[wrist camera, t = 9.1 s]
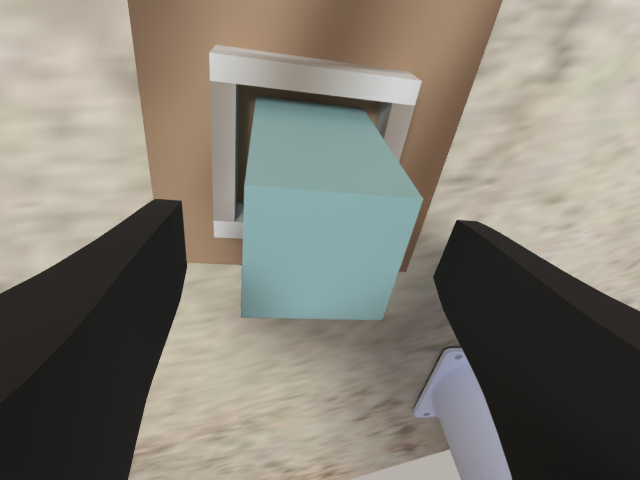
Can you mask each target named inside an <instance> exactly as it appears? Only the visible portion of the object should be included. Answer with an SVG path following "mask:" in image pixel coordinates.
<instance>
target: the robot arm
mask: <svg viewBox="0 0 640 480" xmlns="http://www.w3.org/2000/svg"><path fill="white" fill-rule="evenodd" d="M186 269H187V259H186V246H185V234H184V221H183V209H182V201H180V200H166V199H154V200H153V201H151V202H149V203H148V204H146V205H145V206H144V207H142V208H141V209H139V210H138V211H136V212H135V213H134V214H132V215H131V216H129V217H128V218H127V219H125V220H124V221H122V222H121V223H119V224H118V225H117V226H115V227H114V228H112V229H111V230H109V231H108V232H106V233H105V234H103V235H102V236H101V237H99V238H98V239H96V240H95V241H93V242H91V243H90V244H88V245H86V246H85V247H83V248H82V249H80V250H78V251H77V252H75V253H73V254H72V255H70V256H69V257H67V258H65V259H64V260H62V261H61V262H59V263H57V264H56V265H54V266H52V267H50V268H49V269H47V270H45V271H43V272H41V273H39V274H38V275H36V276H34V277H32V278H30V279H28V280H26V281H24V282H22V283H20V284H18V285H16V286H14V287H12V288H10V289H9V290H7V291H5V292H3V293H1V294H0V480H128V476H129V472H130V468H131V463H132V459H133V454H134V450H135V445H136V441H137V437H138V433H139V428H140V424H141V420H142V416H143V412H144V408H145V403H146V399H147V396H148V393H149V389H150V386H151V383H152V380H153V377H154V374H155V371H156V368H157V365H158V363H159V360H160V357H161V354H162V351H163V348H164V346H165V343H166V340H167V337H168V334H169V331H170V329H171V326H172V323H173V320H174V317H175V314H176V311H177V308H178V305H179V302H180V299H181V294H182V289H183V285H184V280H185V274H186ZM433 278H434V281H435V285H436V288H437V292H438V295H439V298H440V301H441V304H442V307H443V310H444V312H445V314H446V316H447V318H448V321H449V323H450V325H451V327H452V329H453V331H454V333H455V335H456V337H457V339H458V341H459V344H460V346H461V348H448V349H446V350H445V351H444V352H443V353H442V355H441V357H440V359H439V361H438V363H437V365H436V367H435V369H434V371H433V373H432V375H431V377H430V379H429V381H428V383H427V385H426V387H425V389H424V390H423V392H422V394H421V396H420V398H419V400H418V402H417V404H416V406H415V408H414V410H413V413H414V416H415V417H418V418H424V417H438V418H439V421H440V424H441V426H442V429H443V432H444V434H445V437H446V440H447V443H448V445H449V448H450V450H451V453H452V456H453V459H454V461H455V464H456V466H457V469H458V472H459V475H460V477H461V480H640V311H638V310H636V309H634V308H632V307H630V306H628V305H626V304H624V303H622V302H619V301H617V300H615V299H613V298H611V297H610V296H608V295H606V294H604V293H602V292H600V291H598V290H596V289H594V288H593V287H591V286H589V285H587V284H585V283H584V282H582V281H580V280H578V279H576V278H575V277H573V276H571V275H569V274H568V273H566V272H564V271H562V270H561V269H559V268H557V267H556V266H554V265H552V264H551V263H549V262H547V261H546V260H544V259H542V258H541V257H539V256H537V255H536V254H534V253H532V252H531V251H529V250H528V249H526V248H524V247H523V246H521V245H519V244H518V243H516V242H514V241H513V240H511V239H509V238H508V237H506V236H504V235H503V234H501V233H499V232H497V231H496V230H494V229H492V228H490V227H488V226H486V225H484V224H482V223H480V222H477V221H464V220H457V221H456V223H455V225H454V228H453V230H452V233H451V235H450V238H449V240H448V242H447V245H446V247H445V250H444V252H443V255H442V257H441V259H440V262H439V264H438V267H437V269H436V272H435V274H434V276H433Z"/></svg>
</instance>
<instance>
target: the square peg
mask: <svg viewBox="0 0 640 480" xmlns="http://www.w3.org/2000/svg"><path fill="white" fill-rule="evenodd" d="M422 202H423V198H422V196H421V195H420V193H419V192H418V190H417V189H416V187H415V186H414V184H413V183H412V181H411V180H410V178H409V177H408V175H407V174H406V172H405V171H404V169H403V168H402V166H401V165H400V163H399V162H398V160H397V159H396V157H395V156H394V154H393V153H392V151H391V150H390V148H389V147H388V145H387V144H386V142H385V141H384V139H383V138H382V136H381V135H380V133H379V132H378V130H377V129H376V127H375V126H374V124H373V122H372V121H371V119H370V118H369V116H368V115H367V113H366V112H365V110H364V109H363V108H357V107H348V106H340V105H331V104H323V103H314V102H305V101H297V100H288V99H280V98H271V97H263V96H256V101H255V109H254V117H253V124H252V132H251V139H250V147H249V154H248V162H247V169H246V177H245V184H244V218H243V254H242V291H241V317H242V318H292V319H343V320H382V319H383V316H384V313H385V310H386V308H387V305H388V302H389V299H390V296H391V293H392V290H393V287H394V284H395V281H396V278H397V275H398V272H399V269H400V266H401V264H402V261H403V258H404V255H405V252H406V249H407V246H408V243H409V240H410V237H411V234H412V231H413V228H414V225H415V222H416V220H417V217H418V214H419V211H420V208H421V205H422Z"/></svg>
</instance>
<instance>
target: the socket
mask: <svg viewBox="0 0 640 480" xmlns="http://www.w3.org/2000/svg"><path fill="white" fill-rule="evenodd" d="M501 3H502V0H128V7H129V15H130V22H131V30H132V38H133V45H134V53H135V61H136V68H137V76H138V84H139V91H140V99H141V107H142V115H143V122H144V130H145V138H146V145H147V153H148V161H149V168H150V176H151V184H152V191H153V199H166V200H180V201H182V209H183V221H184V234H185V246H186V259H187V262H191V263H215V264H238V265H242V254H243V218H244V184H245V177H246V169H247V162H248V154H249V147H250V139H251V132H252V124H253V117H254V109H255V101H256V96H263V97H271V98H280V99H288V100H297V101H305V102H314V103H323V104H331V105H340V106H348V107H357V108H363V109H364V110H365V112H366V113H367V115H368V116H369V118H370V119H371V121H372V122H373V124H374V126H375V127H376V129H377V130H378V132H379V133H380V135H381V136H382V138H383V139H384V141H385V142H386V144H387V145H388V147H389V148H390V150H391V151H392V153H393V154H394V156H395V157H396V159H397V160H398V162H399V163H400V165H401V166H402V168H403V169H404V171H405V172H406V174H407V175H408V177H409V178H410V180H411V181H412V183H413V184H414V186H415V187H416V189H417V190H418V192H419V193H420V195H421V196H422V198H423V202H422V205H421V208H420V211H419V214H418V217H417V220H416V222H415V225H414V228H413V231H412V234H411V237H410V240H409V243H408V246H407V249H406V252H405V255H404V258H403V261H402V264H401V266H400V269H399V271H400V272H406V270H407V267H408V264H409V262H410V259H411V256H412V253H413V250H414V248H415V245H416V242H417V239H418V236H419V234H420V231H421V228H422V225H423V222H424V220H425V217H426V214H427V211H428V208H429V205H430V203H431V200H432V197H433V194H434V191H435V189H436V186H437V183H438V180H439V177H440V175H441V172H442V169H443V166H444V163H445V161H446V158H447V155H448V152H449V149H450V147H451V144H452V141H453V138H454V135H455V132H456V130H457V127H458V124H459V121H460V118H461V116H462V113H463V110H464V107H465V104H466V102H467V99H468V96H469V93H470V90H471V88H472V85H473V82H474V79H475V76H476V73H477V71H478V68H479V65H480V62H481V59H482V57H483V54H484V51H485V48H486V45H487V43H488V40H489V37H490V34H491V31H492V29H493V26H494V23H495V20H496V17H497V14H498V12H499V9H500V6H501Z"/></svg>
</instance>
